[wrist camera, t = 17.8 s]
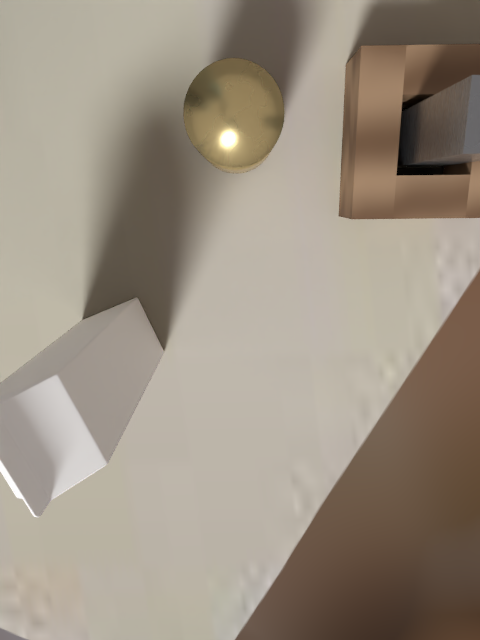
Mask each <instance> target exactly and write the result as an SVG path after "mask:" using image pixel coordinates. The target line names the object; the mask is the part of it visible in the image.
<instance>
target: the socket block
mask: <svg viewBox="0 0 480 640" xmlns="http://www.w3.org/2000/svg"><path fill="white" fill-rule="evenodd" d="M471 75H480V44H439V45H370V46H361V47H360V48H359V49H358V50H357V52H356V53H355V54H354V56H353V57H352V58H351V59H350V61H349V62H348V63H347V64H346V74H345V95H344V117H343V138H342V159H341V181H340V202H339V216H340V217H345V218H349V219H409V218H480V161H475V162H468V163H461V164H454V165H447V166H444V169H443V175H398V176H396V175H397V162H398V149H399V136H400V124H401V111H402V107H412V106H414V105H416V104H418V103H420V102H422V101H423V100H425V99H427V98H429V97H431V96H433V95H435V94H437V93H439V92H441V91H442V90H444V89H446V88H448V87H450V86H452V85H454V84H456V83H458V82H460V81H462V80H463V79H465V78H467V77H469V76H471Z"/></svg>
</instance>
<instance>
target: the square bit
mask: <svg viewBox="0 0 480 640" xmlns="http://www.w3.org/2000/svg"><path fill="white" fill-rule="evenodd" d="M475 161H480V75H471V76H469V77H467V78H465V79H463V80H462V81H460V82H458V83H456V84H454V85H452V86H450V87H448V88H446V89H444V90H442V91H441V92H439V93H437V94H435V95H433V96H431V97H429V98H427V99H425V100H423V101H422V102H420V103H418V104H416V105H414V106H412V107H410V108H408V109H406V110H404V111H403V112H401V124H400V136H399V149H398V162H397V168H426V167H440V166H447V165H454V164H461V163H468V162H475Z"/></svg>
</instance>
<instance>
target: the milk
mask: <svg viewBox="0 0 480 640" xmlns="http://www.w3.org/2000/svg"><path fill="white" fill-rule="evenodd" d="M163 354H164V350H163V348H162V346H161V344H160V342H159V340H158V338H157V336H156V334H155V332H154V330H153V328H152V326H151V324H150V322H149V320H148V318H147V316H146V314H145V312H144V309H143V307H142V305H141V303H140V301H139V299H138V298H137V297H136V298H134V299H131V300H129V301H127V302H124V303H122V304H119V305H117V306H115V307H112V308H110V309H107V310H105V311H103V312H100V313H98V314H95V315H93V316H91V317H88V318H86V319H83V320H81V321H80V322H79V323H78V324H76V325H75V326H74V327H72V328H71V329H70V330H68V331H67V332H66V333H65V334H63V335H62V336H61V337H59V338H58V339H57V340H56V341H54V342H53V343H52V344H50V345H49V346H48V347H46V348H45V349H44V350H43V351H41V352H40V353H39V354H37V355H36V356H35V357H34V358H32V359H31V360H30V361H28V362H27V363H26V364H24V365H23V366H22V367H21V368H19V369H18V370H17V371H15V372H14V373H13V374H12V375H10V376H9V377H8V378H6V379H5V380H4V381H2V382H1V383H0V472H1V473H2V475H3V476H4V478H5V479H6V481H7V483H8V484H9V486H10V487H11V489H12V490H13V492H14V494H15V495H16V497H17V498H22V499H23V500H24V502H25V503H26V505H27V507H28V508H29V510H30V511H31V513H32V514H33V516H35V517H39V516H41V515H42V513H43V512H44V510H45V508H46V507H47V505H48V504H49V502H50V501H51V500H52V499H54V498H55V497H57V496H59V495H60V494H62V493H63V492H65V491H66V490H68V489H70V488H71V487H73V486H74V485H76V484H77V483H79V482H81V481H82V480H84V479H85V478H87V477H89V476H90V475H92V474H93V473H95V472H96V471H98V470H100V469H101V468H103V467H104V466H106V465H107V464H108V462H109V460H110V458H111V456H112V454H113V452H114V450H115V448H116V446H117V445H118V443H119V441H120V439H121V437H122V435H123V433H124V431H125V429H126V427H127V425H128V423H129V421H130V419H131V417H132V415H133V413H134V411H135V409H136V407H137V405H138V403H139V401H140V399H141V397H142V395H143V393H144V391H145V389H146V387H147V385H148V383H149V381H150V379H151V377H152V375H153V374H154V372H155V370H156V368H157V366H158V364H159V362H160V360H161V358H162V356H163Z"/></svg>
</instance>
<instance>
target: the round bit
mask: <svg viewBox="0 0 480 640" xmlns="http://www.w3.org/2000/svg"><path fill="white" fill-rule="evenodd" d="M283 122H284V104H283V99H282V95H281V92H280V90H279V87H278V85H277V84H276V82H275V80H274V79H273V78H272V77H271V75H270V74H269V73H268V72H267V71H266V70H265V69H263V68H262V67H261V66H259V65H257V64H256V63H254V62H251V61H249V60H245V59H240V58H227V59H223V60H219V61H216V62H214V63H212V64H210V65H208V66H207V67H206V68H204V69H203V70H202V71H201V72H200V73H199V74H198V75H197V76H196V77H195V79H194V80H193V82H192V83H191V85H190V87H189V89H188V92H187V94H186V98H185V103H184V123H185V127H186V131H187V134H188V136H189V138H190V140H191V142H192V144H193V145H194V147H195V148H196V149H197V150H198V151H199V153H201V154H202V155H203V156H204V157H205V158H206V159H207V160H208V161H209V162H210V163H211V164H212V165H213V166H215V167H216V168H218V169H220V170H222V171H225V172H228V173H244V172H248V171H251V170H253V169H255V168H256V167H258V166H259V165H260V164H261V163H262V162H264V160H265V159H266V158H267V157H268V155H269V153H270V152H271V150H272V148H273V147H274V145H275V144H276V142H277V140H278V138H279V136H280V133H281V130H282V127H283Z"/></svg>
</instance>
